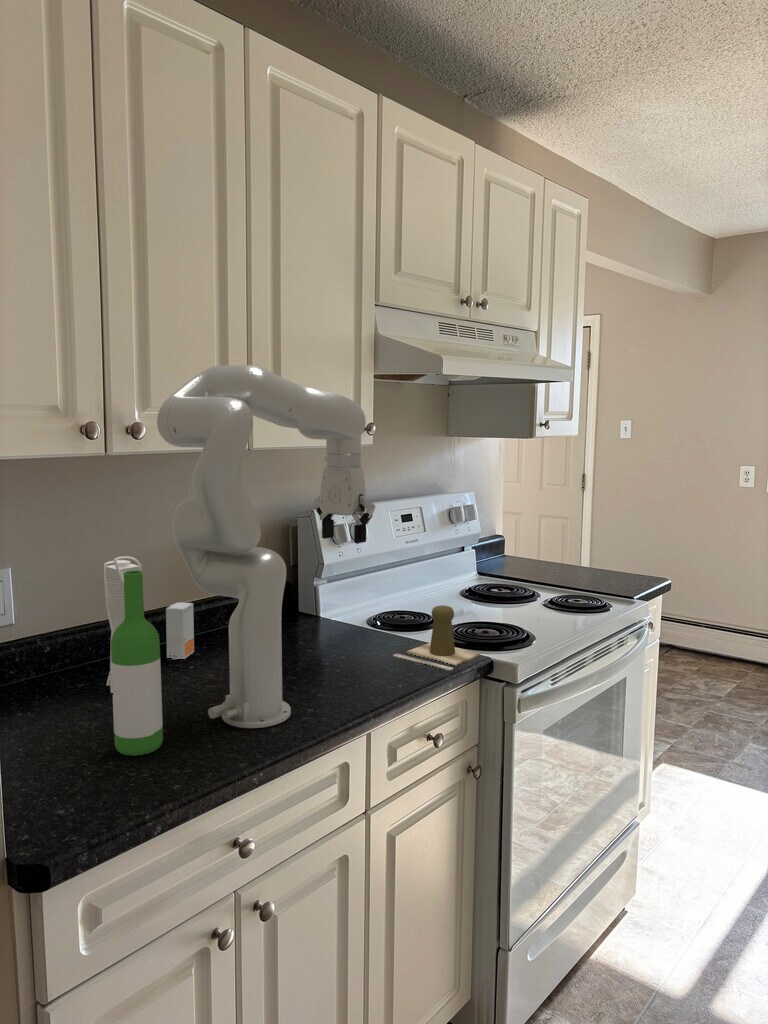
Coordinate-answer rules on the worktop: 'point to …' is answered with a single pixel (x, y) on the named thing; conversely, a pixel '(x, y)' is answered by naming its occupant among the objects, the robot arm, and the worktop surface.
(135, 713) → the wine bottle
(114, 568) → the skyscraper
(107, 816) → the worktop surface
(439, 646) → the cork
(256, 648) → the robot arm
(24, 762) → the worktop surface
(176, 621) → the skincare box
